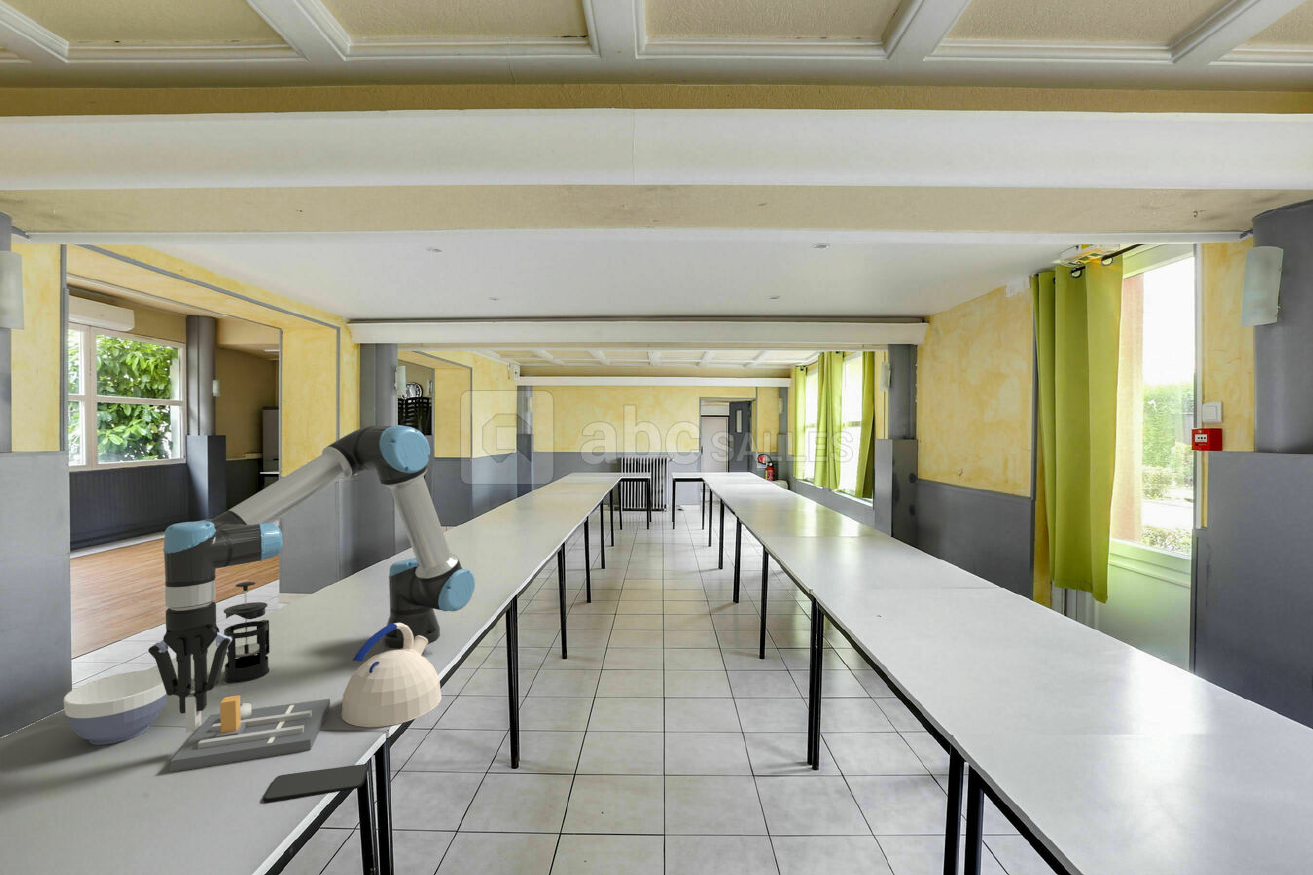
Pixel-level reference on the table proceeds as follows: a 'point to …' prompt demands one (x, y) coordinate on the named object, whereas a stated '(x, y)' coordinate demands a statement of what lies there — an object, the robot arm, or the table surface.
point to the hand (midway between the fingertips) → (193, 727)
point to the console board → (254, 735)
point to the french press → (246, 661)
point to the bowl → (116, 706)
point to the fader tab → (230, 717)
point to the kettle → (391, 683)
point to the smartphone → (316, 782)
